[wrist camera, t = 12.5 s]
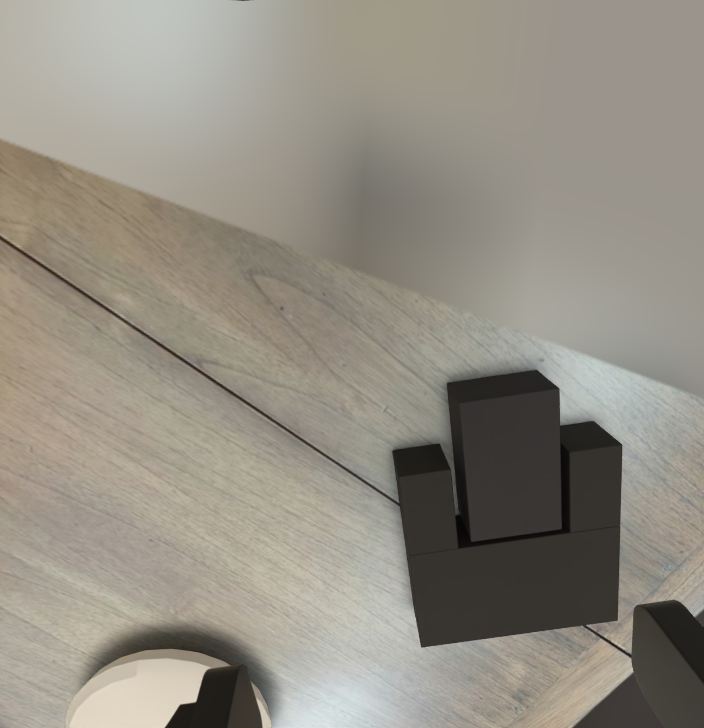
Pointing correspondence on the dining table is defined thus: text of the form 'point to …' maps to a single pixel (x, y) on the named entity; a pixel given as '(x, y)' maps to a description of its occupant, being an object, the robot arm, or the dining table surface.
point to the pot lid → (145, 690)
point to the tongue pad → (507, 454)
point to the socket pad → (514, 549)
